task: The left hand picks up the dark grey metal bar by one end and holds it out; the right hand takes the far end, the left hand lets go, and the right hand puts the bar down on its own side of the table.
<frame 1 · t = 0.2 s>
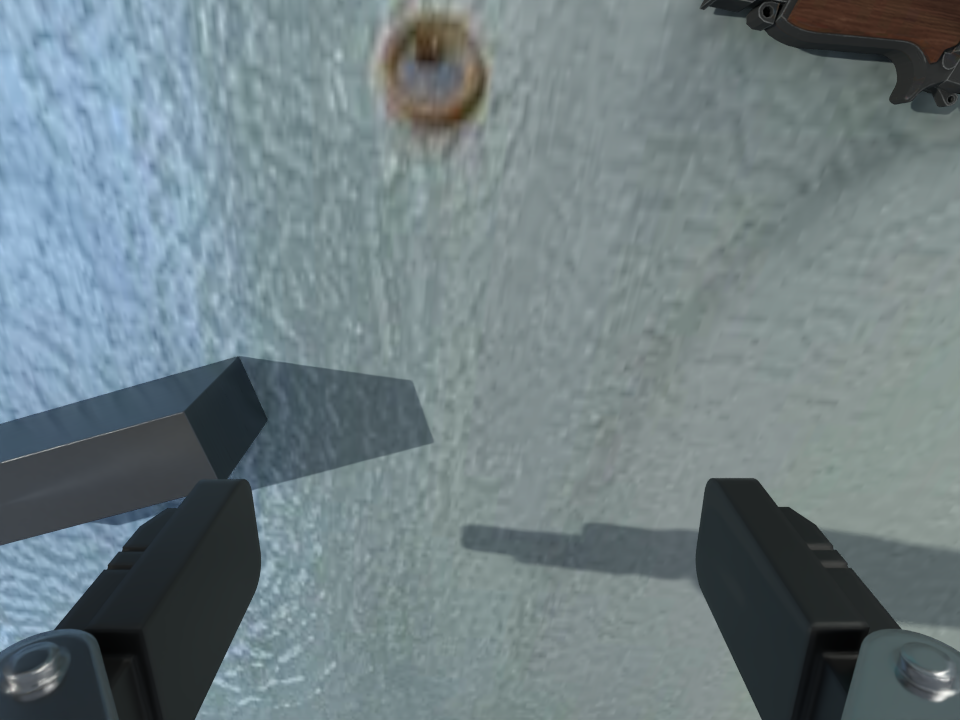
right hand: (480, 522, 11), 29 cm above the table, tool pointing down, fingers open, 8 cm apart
bar: (90, 434, 43), on the table
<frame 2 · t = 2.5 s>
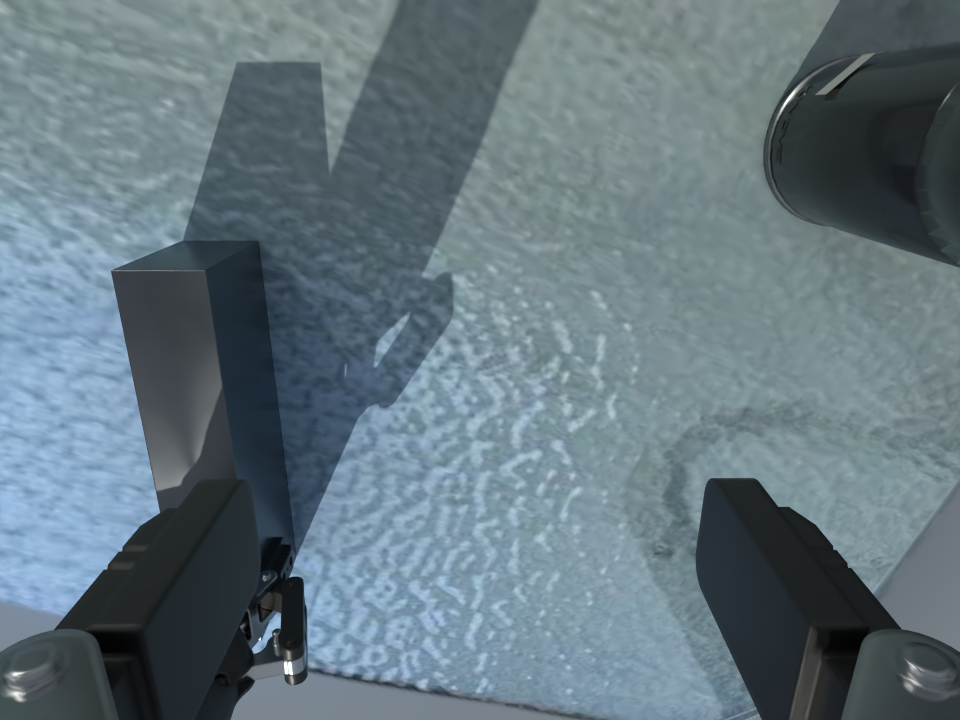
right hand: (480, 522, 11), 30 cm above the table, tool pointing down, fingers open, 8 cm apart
bar: (244, 413, 44), on the table, touching left hand
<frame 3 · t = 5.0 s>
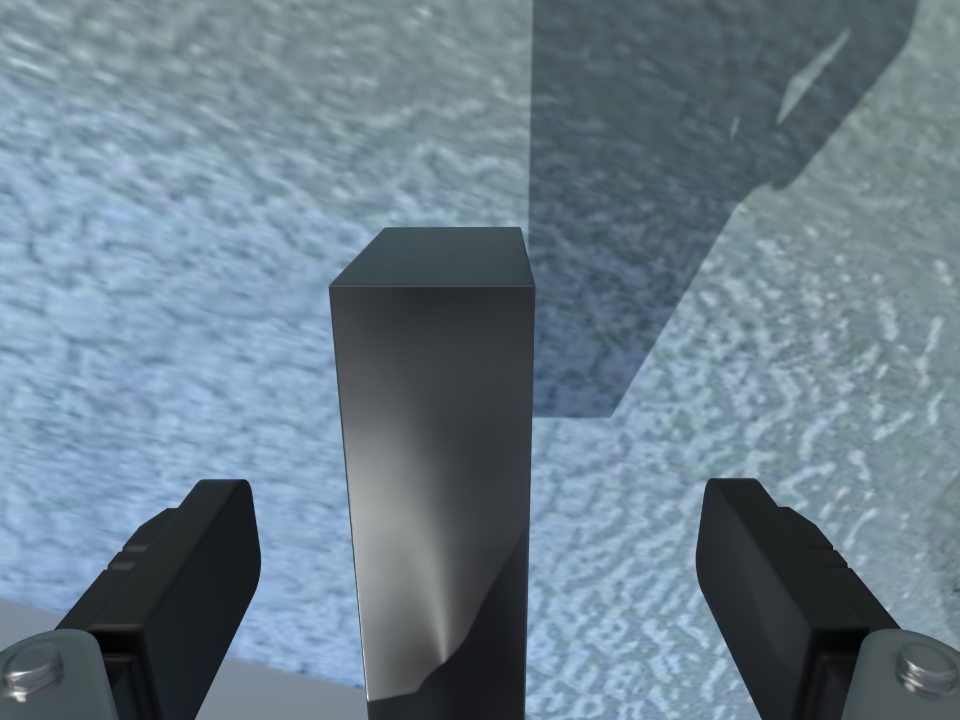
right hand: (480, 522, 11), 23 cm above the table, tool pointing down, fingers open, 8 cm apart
bar: (458, 515, 27), point 10 cm above the table, touching left hand
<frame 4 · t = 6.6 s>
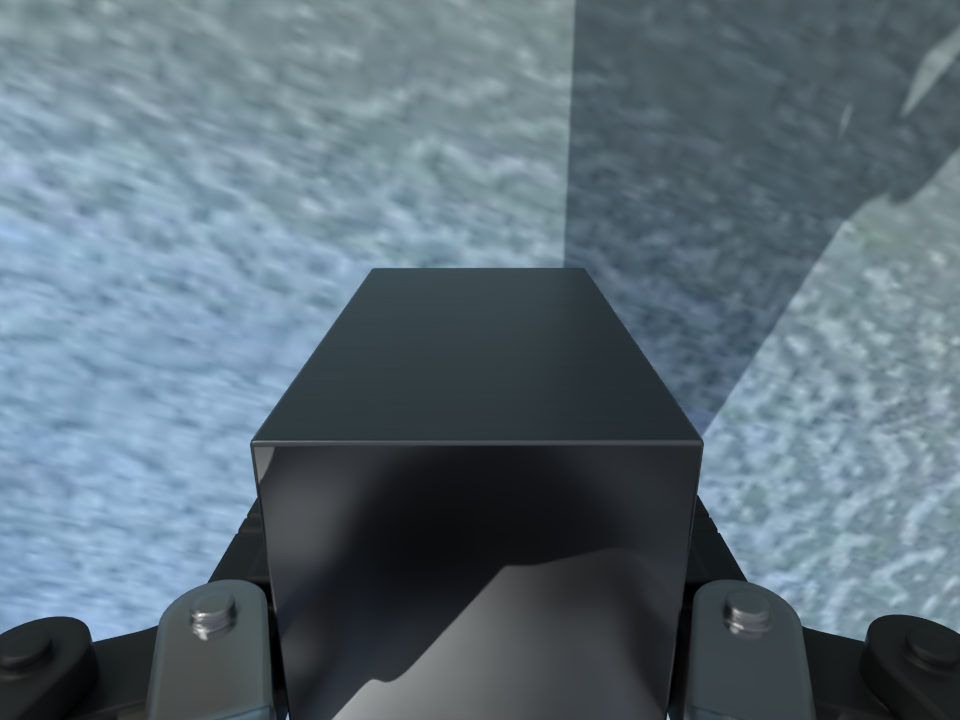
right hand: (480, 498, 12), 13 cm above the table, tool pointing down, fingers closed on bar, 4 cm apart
bar: (479, 673, 19), point 10 cm above the table, touching right hand, left hand
when the left hand's fingers open (13 cm above the table, at t = 7.6 s): bar stays where it is, held by the right hand.
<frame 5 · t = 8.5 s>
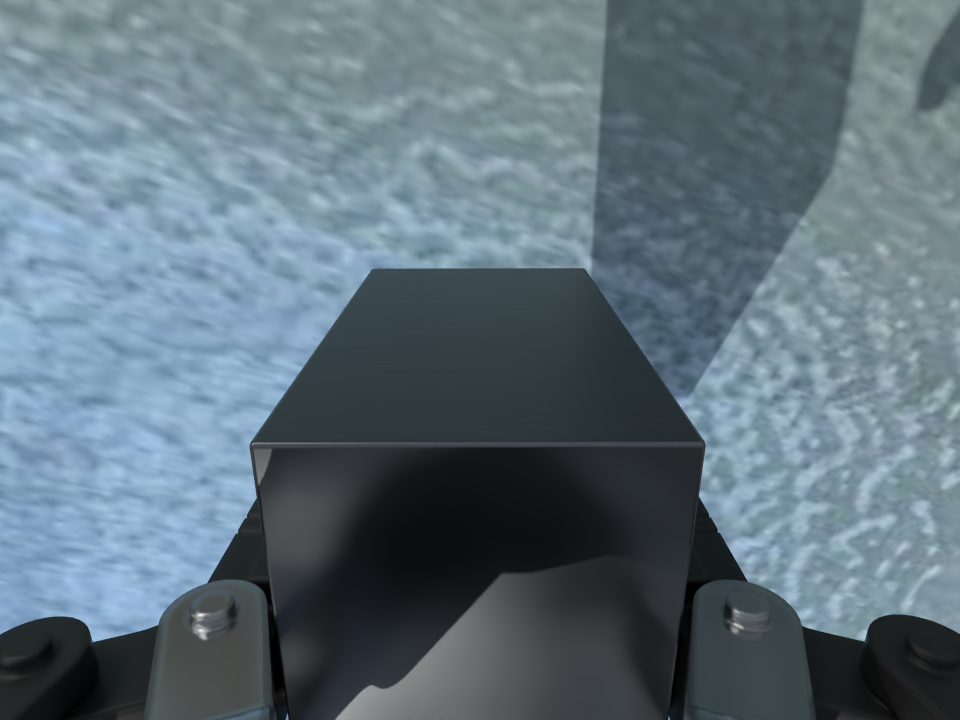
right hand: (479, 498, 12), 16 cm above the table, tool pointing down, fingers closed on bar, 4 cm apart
bar: (479, 674, 19), point 12 cm above the table, touching right hand
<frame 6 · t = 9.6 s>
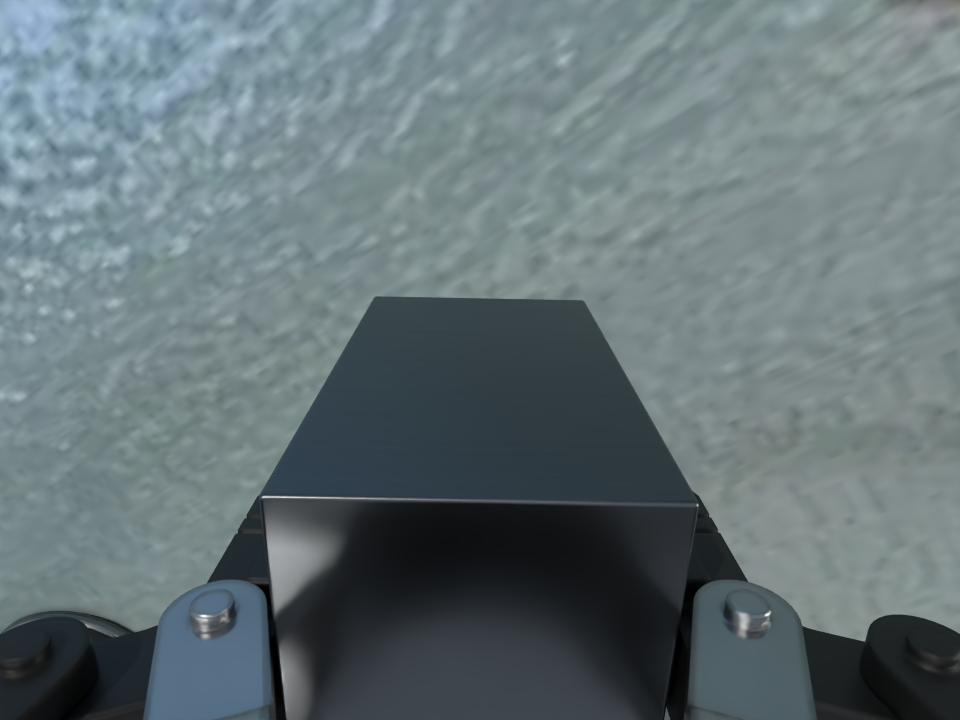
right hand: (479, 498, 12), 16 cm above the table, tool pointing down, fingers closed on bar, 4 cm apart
bar: (471, 692, 19), point 12 cm above the table, touching right hand
when the right hand's fingers open (5 cm above the table, at t = 12.6 s): bar drops 1 cm, on the table.
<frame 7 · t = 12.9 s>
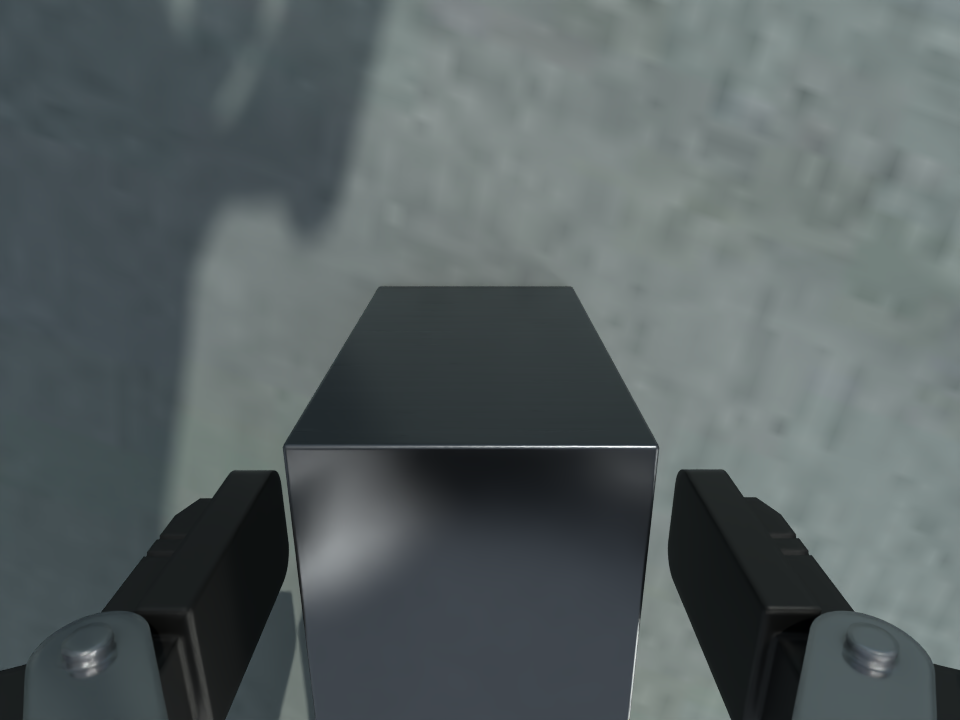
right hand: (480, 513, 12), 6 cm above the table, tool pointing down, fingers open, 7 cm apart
bar: (476, 659, 20), on the table
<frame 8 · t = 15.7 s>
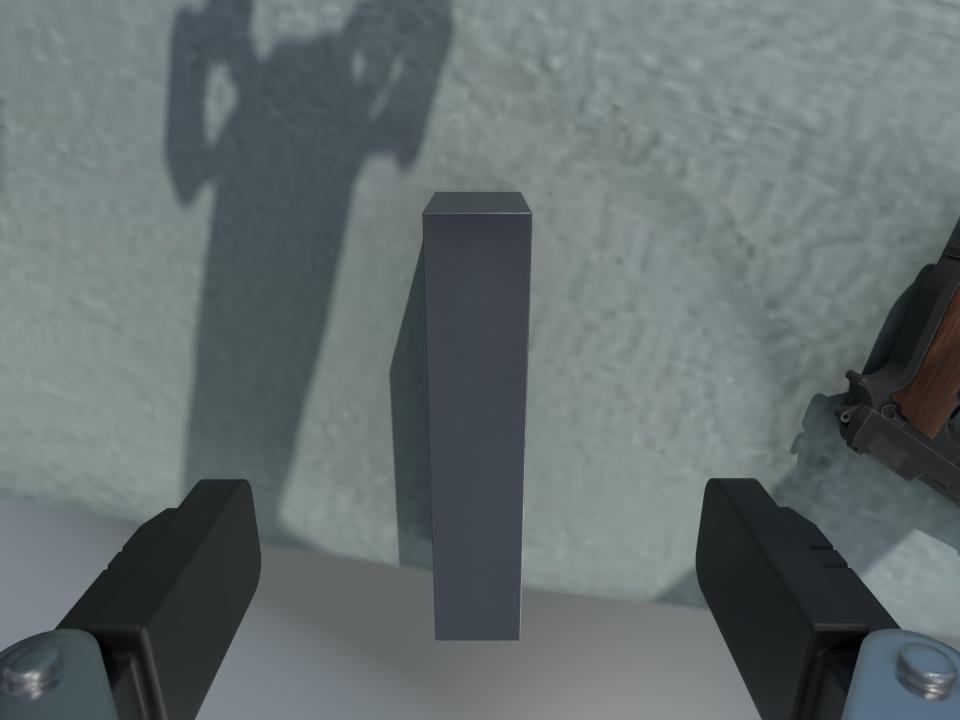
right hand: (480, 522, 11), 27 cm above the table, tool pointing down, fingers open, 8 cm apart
bar: (478, 389, 40), on the table
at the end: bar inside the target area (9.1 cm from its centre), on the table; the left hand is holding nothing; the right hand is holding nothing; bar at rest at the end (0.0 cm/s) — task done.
